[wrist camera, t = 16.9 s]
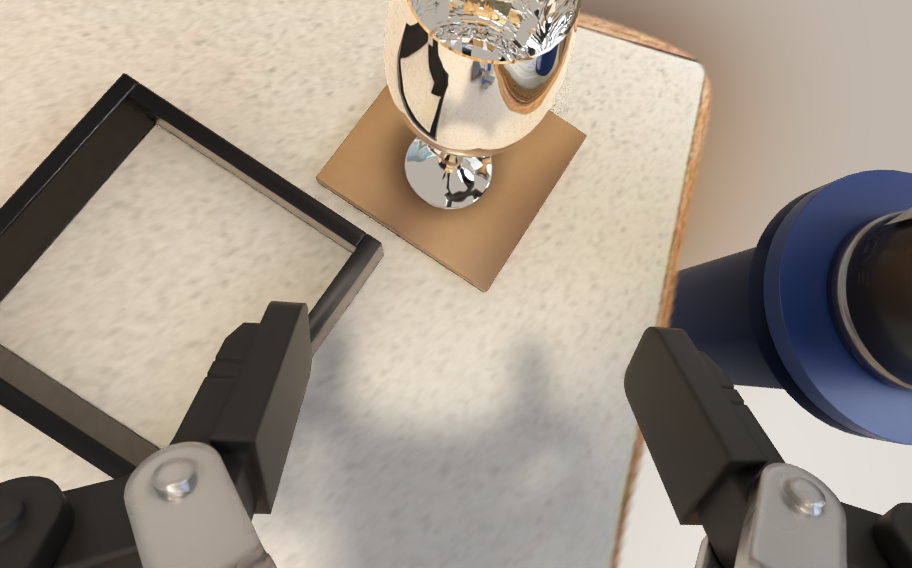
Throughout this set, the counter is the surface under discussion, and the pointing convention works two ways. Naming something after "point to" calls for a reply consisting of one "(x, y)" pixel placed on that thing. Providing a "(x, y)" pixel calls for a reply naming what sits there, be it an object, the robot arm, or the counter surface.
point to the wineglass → (472, 84)
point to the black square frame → (64, 193)
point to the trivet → (461, 230)
